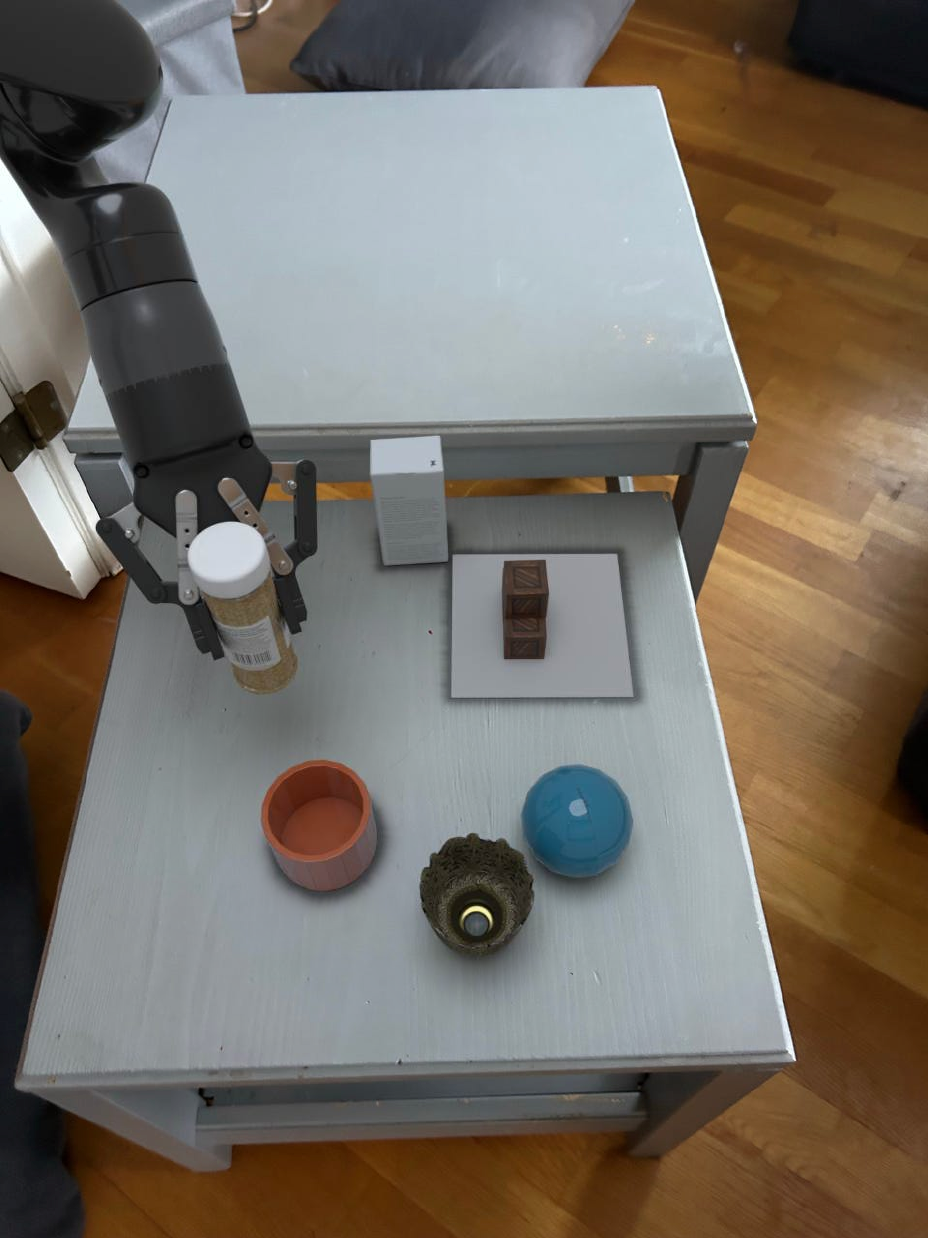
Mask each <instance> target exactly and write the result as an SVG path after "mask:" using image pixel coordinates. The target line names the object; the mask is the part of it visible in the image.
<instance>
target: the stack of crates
mask: <svg viewBox="0 0 928 1238" xmlns="http://www.w3.org/2000/svg"><path fill="white" fill-rule="evenodd" d="M618 558H619V557H618V554H617V553H557V554H556V553H525V554H522V553H521V554H518V553H515V554H513V553H512V554H511V553H510V554H509V553H508V554H507V553H506V554H505V553H503V554H501V553H499V554H496V553H495V554H493V553H490V554H489V553H488V554H481V553H480V554H452V576H451V577H452V580H451V581H452V585H451V586H452V587H451V589H452V590H451V593H452V594H451V603H452V604H451V674H450V675H451V676H450V677H451V680H450V681H451V682H450V683H451V684H450V686H451V688H450V698H453V699H463V698H465V699H469V698H471V699H474V698H475V699H477V698H478V699H481V698H483V699H488V698H489V699H491V698H494V699H495V698H497V699H499V698H507V699H508V698H509V699H510V698H511V699H512V698H514V699H515V698H634V689H633V688H634V687H633V679H632V671H631V664H630V654H629V645H628V644H629V643H628V637H627V636H628V635H627V628H626V617H625V610H624V609H625V608H624V602H623V601H624V600H623V594H622V593H623V592H622V585H621V576H620V575H621V574H620V567H619V559H618Z"/></svg>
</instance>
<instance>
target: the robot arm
mask: <svg viewBox="0 0 928 1238" xmlns="http://www.w3.org/2000/svg"><path fill="white" fill-rule="evenodd" d="M164 82H165V81H164V72H163V68H162V62H161V59H160V56H159V53H158V51H157V48H156V46H155V44H154V43H153V40H152V38H150V36H149V34H148V32H147V31H146V29H145V28H144V26H143V25H142V24H141V23H140V22H139V20H138V19H137V18H136V17H135V16H134V15H133V14H132V12H130V11H129V10H128V9H127V7H125V6H124V5H123V3H121V2H120V1H119V0H0V161H1V162H2V164H3V165H4V167H5V169H6V170H7V171H8V173H9V174H10V176H11V177H12V179H13V180H14V182H15V184H16V186H18V188H19V189H20V191H21V193H22V194H23V196H24V198H25V200H26V201H27V203H28V204H29V206H30V207H31V209H32V210H33V212H34V213H35V215H36V216H37V217H38V219H39V220H40V222H41V224H42V225H43V226H44V228H45V229H46V231H47V232H48V234H49V236H50V237H51V238H52V241H53V242H54V243H55V246H56V248H57V251H58V254H59V257H60V260H61V264H62V266H63V269H64V272H65V275H66V277H67V280H68V282H69V285H70V286H69V287H70V288H71V291H72V295H73V297H74V300H75V304H76V305H77V308H78V311H79V314H80V318H81V321H82V324H83V329H84V334H85V339H86V344H87V347H88V352H89V356H90V358H91V362H92V364H93V367H94V370H95V373H96V376H97V378H98V379H97V380H98V383H99V386H100V387H101V389H102V392H103V395H104V397H105V400H106V404H107V406H108V410H109V412H110V415H111V417H112V420H113V423H114V426H115V429H116V431H117V434H118V437H119V440H120V443H121V445H122V448H123V451H124V454H125V456H126V460H127V463H128V466H129V469H130V471H131V474H132V477H133V490H132V501H131V502H130V503H127V505H125V506H124V507H122V508H120V509H119V510H118V511H115V512H114V513H113V514H112V515H109V516H105V517H104V516H103V517H102V518H99V519H98V520H97V522H96V523H95V528H94V529H95V532H96V534H97V536H99V538H100V539H101V540H102V542H103V543H104V544H105V546H106V547H107V548H108V550H109V551H110V552H111V554H112V555H113V556H114V558H115V559H116V560H117V562H118V563H119V565H120V566H121V567H122V568H123V570H124V571H125V572H126V574H127V575H128V576H129V577H130V579H131V580H132V582H133V583H134V584H135V586H136V587H137V588H138V590H139V591H140V593H142V595H143V596H144V598H145V599H146V600H147V601H148V602H149V603H150V604H153V605H159V604H172V605H173V604H174V605H177V606H179V607H180V608H181V609H182V610H183V612H184V614H185V618H186V621H187V624H188V627H189V629H190V631H191V634H192V637H193V640H194V644H195V646H196V648H197V650H198V651H199V652H200V653H201V654H202V655H205V654H208V653H210V654H211V657H212V659H213V661H217V660H220V659H223V658H225V657H226V654H225V651H224V648H223V646H222V643H221V640H220V638H219V635H218V633H217V630H216V628H215V625H214V623H213V620H212V618H211V615H210V613H209V610H208V605H207V603H206V600H205V597H202V594H201V592H200V588H199V587H198V586H197V584H196V582H195V580H194V578H193V575H192V572H191V569H190V567H189V564H188V550H189V547H190V545H191V543H192V541H193V540H194V539H195V537H196V536H197V535H198V534H199V533H201V532H202V531H203V530H205V529H207V528H208V527H210V526H213V525H215V524H218V523H223V522H240V523H244V524H247V525H249V526H251V527H253V528H254V529H256V530H257V531H258V532H259V533H260V534H261V536H262V537H263V539H264V542H265V544H266V547H267V550H268V554H269V557H270V569H271V571H272V574H273V576H272V579H273V582H274V586H275V590H276V593H277V596H278V600H279V603H280V606H281V608H282V611H283V614H284V617H285V620H286V623H287V627H288V630H289V634H290V636H293V635H297V634H300V633H302V632H303V629H302V626H301V623H303V622H307V621H308V610H307V606H306V603H305V600H304V598H303V593H302V592H301V588H300V585H299V582H298V579H297V575H296V571H297V569H298V566H299V565H300V564H301V563H303V562H304V561H305V560H307V559H308V558H310V557H314V555H315V554H316V553H317V552H318V501H317V500H318V496H317V492H318V491H317V466H316V465H315V463H314V462H313V461H311V460H309V459H300V460H298V461H271V460H270V458H269V457H268V455H266V454H265V452H263V451H262V449H261V448H260V447H259V445H258V443H257V441H256V439H255V436H254V433H253V430H252V427H251V424H250V421H249V418H248V415H247V412H246V409H245V405H244V403H243V400H242V397H241V393H240V391H239V387H238V384H237V381H236V378H235V375H234V372H233V369H232V366H231V363H230V359H229V357H228V351H227V348H226V346H225V344H224V341H223V338H222V335H221V332H220V328H219V325H218V323H217V321H216V318H215V316H214V314H213V311H212V310H211V307H210V305H209V303H208V301H207V299H206V297H205V295H204V292H203V289H202V287H201V285H200V282H199V278H198V275H197V272H196V269H195V266H194V263H193V260H192V257H191V253H190V250H189V247H188V245H187V241H186V239H185V235H184V233H183V230H182V227H181V224H180V221H179V217H178V215H177V212H176V210H175V207H174V206H173V204H172V202H171V200H170V199H169V197H168V196H167V194H165V192H163V191H162V189H160V188H158V187H157V186H155V185H153V184H150V183H147V182H142V181H133V180H131V181H117V182H110V181H109V180H108V178H107V177H106V175H105V174H104V171H102V168H101V166H100V165H99V162H98V160H97V156H96V153H97V152H99V151H101V150H103V149H104V148H106V147H108V146H109V145H111V144H113V143H115V142H117V141H118V140H120V139H122V138H124V137H126V136H127V135H130V134H131V133H133V132H135V131H136V130H138V129H140V128H142V126H143V125H145V124H146V123H147V122H148V121H149V120H150V119H151V118H152V117H153V116H154V114H155V113H156V112H157V109H158V108H159V106H160V104H161V101H162V97H163V92H164ZM272 478H275V479H277V481H279V484H280V487H281V490H282V491H283V493H284V494H286V495H288V496H292V503H293V504H292V505H293V507H292V508H293V509H292V510H293V541H292V542H290V543H289V544H288V545H286V546H285V547H284V548H283V546H282V544H281V543H280V541H279V540H278V538H277V537H276V535H275V534H274V532H273V531H272V530H271V528H270V527H269V525H268V524H267V523H266V521H265V520H264V519H263V517H262V516H261V515H260V513H261V509H262V507H263V503H264V501H265V497H266V494H267V491H268V488H269V486H270V482H271V479H272ZM141 516H143V517H145V518H146V519H148V520H149V521H150V522H152V523H153V524H155V525H156V526H157V527H159V528H160V529H162V530H163V531H165V532H166V533H167V534H169V535H171V536H172V537H173V538H174V539H176V558H177V559H176V561H177V562H176V563H177V581H171V580H169V581H167V580H163V579H162V577H161V576H160V575H159V573H158V571H156V569H155V568H154V567H153V565H152V564H151V562H150V561H149V560H148V558H147V557H146V556H145V554H144V553H143V552H142V549H140V547H139V546H138V545H137V542H138V541H139V540H140V538H141V536H142V530H141V527H140V526H139V519H140V517H141Z"/></svg>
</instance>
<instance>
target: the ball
mask: <svg viewBox="0 0 928 1238" xmlns="http://www.w3.org/2000/svg"><path fill="white" fill-rule="evenodd" d="M520 821H521V828H522V834H523V841H524V842H525V844H526V846H527V847H528V849H529V851H530V852H531V854H532V855H533V857H534V859H535V860H536V861H537V862H539V863H540V864H541V865H543V866H544V867H546V868H547V870H549V871H551V872H552V873H553V874H557V875H560V876H564V877H568V878H571V879H578V878H588V877H589V878H590V877H595V876H598V875H600V874H601V873H603V872H605V871H606V870H609V869H610V868H612V867H614V866H615V865H616V863H617V862H618V861H619V859H620V858H622V855H624V853H625V852H626V850H627V849H628V847H629V846H630V842H631V836H632V831H633V827H634V817H633V812H632V808H631V803H630V800H629V797H628V795H627V794H626V793H625V791H624V790H623V789H622V787H621V786H620V784H619V783H618V781H617V780H616V779H614V778H613V777H611V776H610V775H608V774H607V773H606V772H604V771H603V770H602V769H600V768H597V767H593V766H589V765H585V764H581V763H578V764H577V763H576V764H566V765H565V764H564V765H559V766H557V767H555V768H553V769H552V770H549V771H548V772H546V773H544V774H541V776H539V778H538V779H537V780H536V781H535V783H534V784H533V785H532V786H531V787H530V789H529V790H528V791H527V792H526V795H525V799H524V801H523V806H522V809H521V813H520Z"/></svg>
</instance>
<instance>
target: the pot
mask: <svg viewBox="0 0 928 1238" xmlns="http://www.w3.org/2000/svg"><path fill="white" fill-rule="evenodd" d="M260 824H261V827H262V830H263V834H264V837H265V839H266V841H267V843H268V845H269V847H270V849H271V851H272V854H273V856H274V857H275V860H276V861H277V864H278V866H279V867H280V868H281V870H282V872H283V873H284V874H285V876H286V877H287V878H288V879H290V881H292V882H293V883H294V884H295V885H298V886H300V887H302V888H304V889H306V890H312V891H316V892H317V891H318V892H326V891H327V892H328V891H333V890H338V889H341V888H344V887H346V886H348V885H349V884H351V883H353V882H355V881H356V880H357V879H358V878H360V877H361V875H363V873H365V872H366V870H367V869H368V868H369V867H370V864H371V863H372V862H373V859H374V857H375V854H376V851H377V846H378V833H377V829H378V828H377V824H376V819H375V813H374V809H373V805H372V801H371V796H370V793H369V791H368V788H367V785H366V783H365V781H364V780H363V779H362V778H361V777H360V775H359V774H358V773H357V772H356V771H355V770H354V769H352V768H350V767H348V766H347V765H345V764H343V763H341V762H337V761H334V760H328V759H315V760H306V761H304V762H301V763H299V764H296V765H293V766H291V767H290V768H288V769H287V770H285V771H283V773H281V774H280V775H278V776H277V777H276V778H275V780H274V781H273V783H271V785H270V787H268V789H267V791H266V793H265V796H264V799H263V801H262V803H261V810H260Z"/></svg>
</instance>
